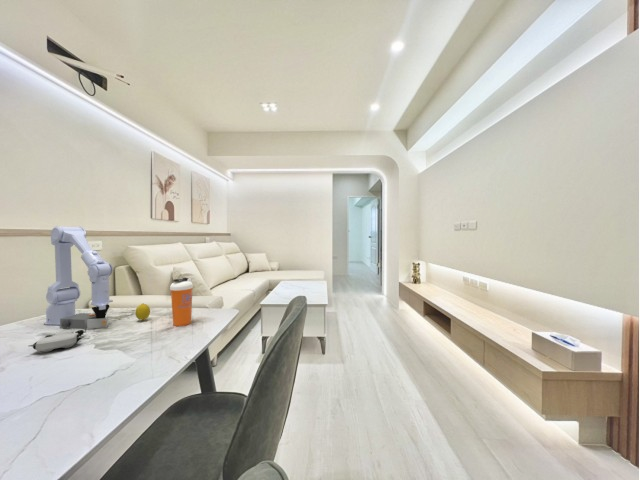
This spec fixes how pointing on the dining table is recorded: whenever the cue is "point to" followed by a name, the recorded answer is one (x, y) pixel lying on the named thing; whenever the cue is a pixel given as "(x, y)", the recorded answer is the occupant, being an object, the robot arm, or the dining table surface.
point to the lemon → (142, 311)
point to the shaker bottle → (181, 301)
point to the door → (96, 323)
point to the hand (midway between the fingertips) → (100, 322)
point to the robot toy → (58, 340)
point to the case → (76, 321)
